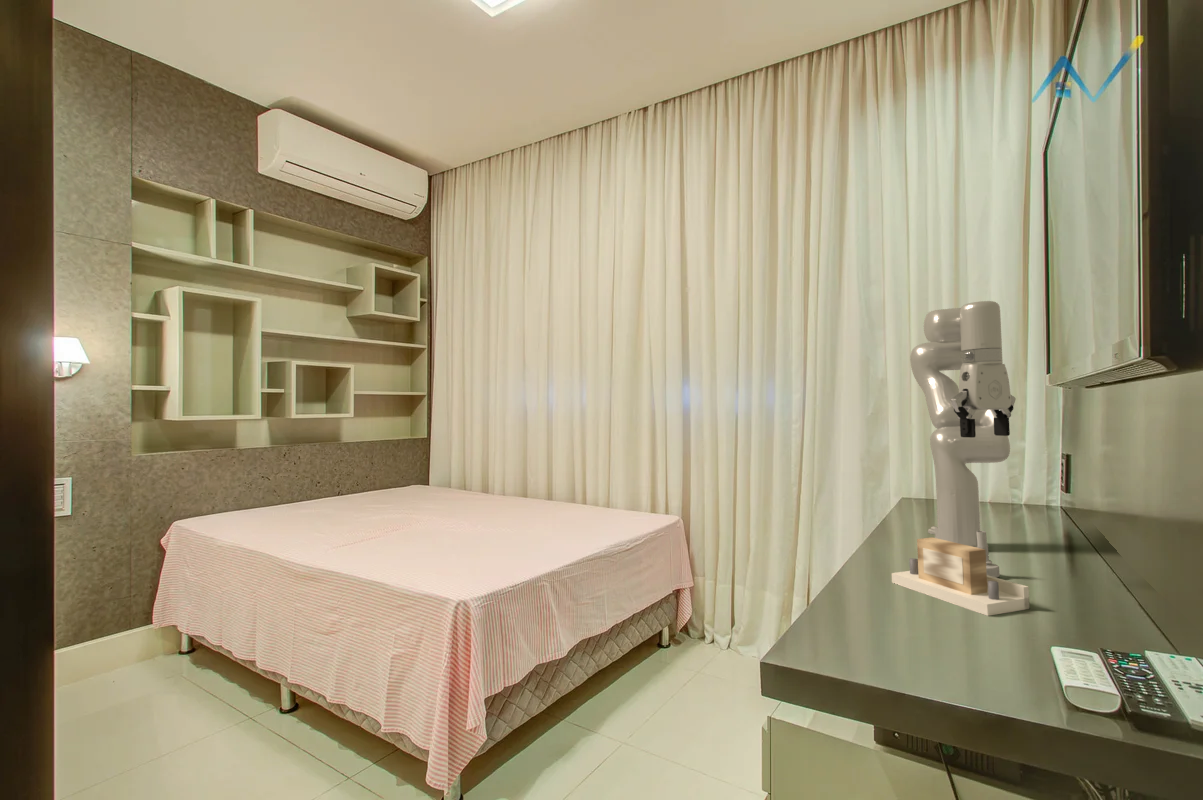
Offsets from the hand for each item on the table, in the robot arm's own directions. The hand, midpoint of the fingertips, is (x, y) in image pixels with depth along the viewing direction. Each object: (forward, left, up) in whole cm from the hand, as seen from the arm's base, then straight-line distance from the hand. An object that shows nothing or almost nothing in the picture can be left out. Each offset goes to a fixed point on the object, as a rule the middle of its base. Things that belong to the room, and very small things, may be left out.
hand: (985, 436), depth 128 cm
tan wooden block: (+7, -19, -28) cm, 35 cm away
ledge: (+7, -18, -30) cm, 36 cm away
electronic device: (-5, -3, -31) cm, 31 cm away
